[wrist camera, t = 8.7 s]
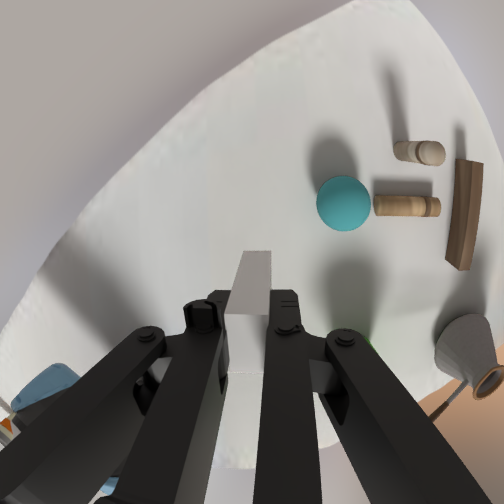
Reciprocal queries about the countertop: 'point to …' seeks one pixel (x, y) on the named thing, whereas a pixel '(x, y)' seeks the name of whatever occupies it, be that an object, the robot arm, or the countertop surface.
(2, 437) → the reusable coffee cup
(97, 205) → the countertop surface
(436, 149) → the side pin
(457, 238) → the bar
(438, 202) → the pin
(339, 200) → the ball
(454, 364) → the coffee pot
